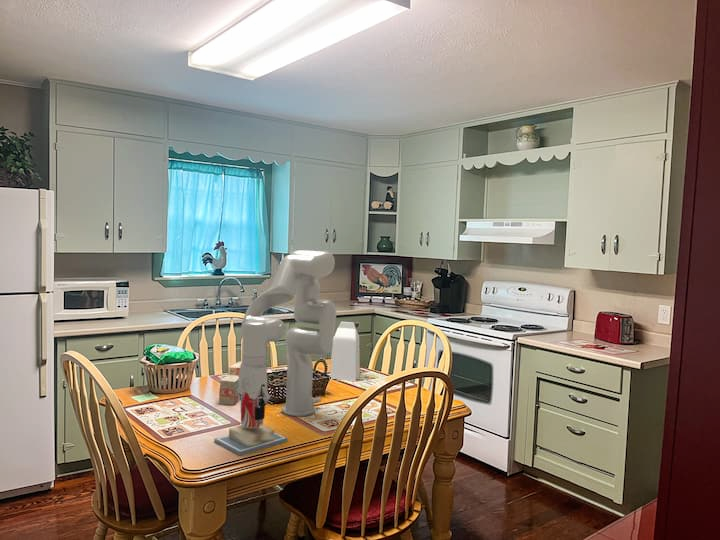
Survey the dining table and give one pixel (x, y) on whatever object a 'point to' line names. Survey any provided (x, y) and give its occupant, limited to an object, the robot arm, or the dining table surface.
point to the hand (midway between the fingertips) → (252, 415)
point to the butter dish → (249, 439)
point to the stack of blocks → (230, 386)
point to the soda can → (249, 412)
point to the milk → (345, 353)
